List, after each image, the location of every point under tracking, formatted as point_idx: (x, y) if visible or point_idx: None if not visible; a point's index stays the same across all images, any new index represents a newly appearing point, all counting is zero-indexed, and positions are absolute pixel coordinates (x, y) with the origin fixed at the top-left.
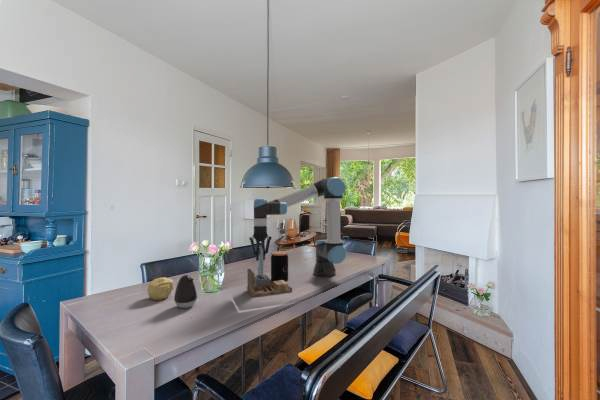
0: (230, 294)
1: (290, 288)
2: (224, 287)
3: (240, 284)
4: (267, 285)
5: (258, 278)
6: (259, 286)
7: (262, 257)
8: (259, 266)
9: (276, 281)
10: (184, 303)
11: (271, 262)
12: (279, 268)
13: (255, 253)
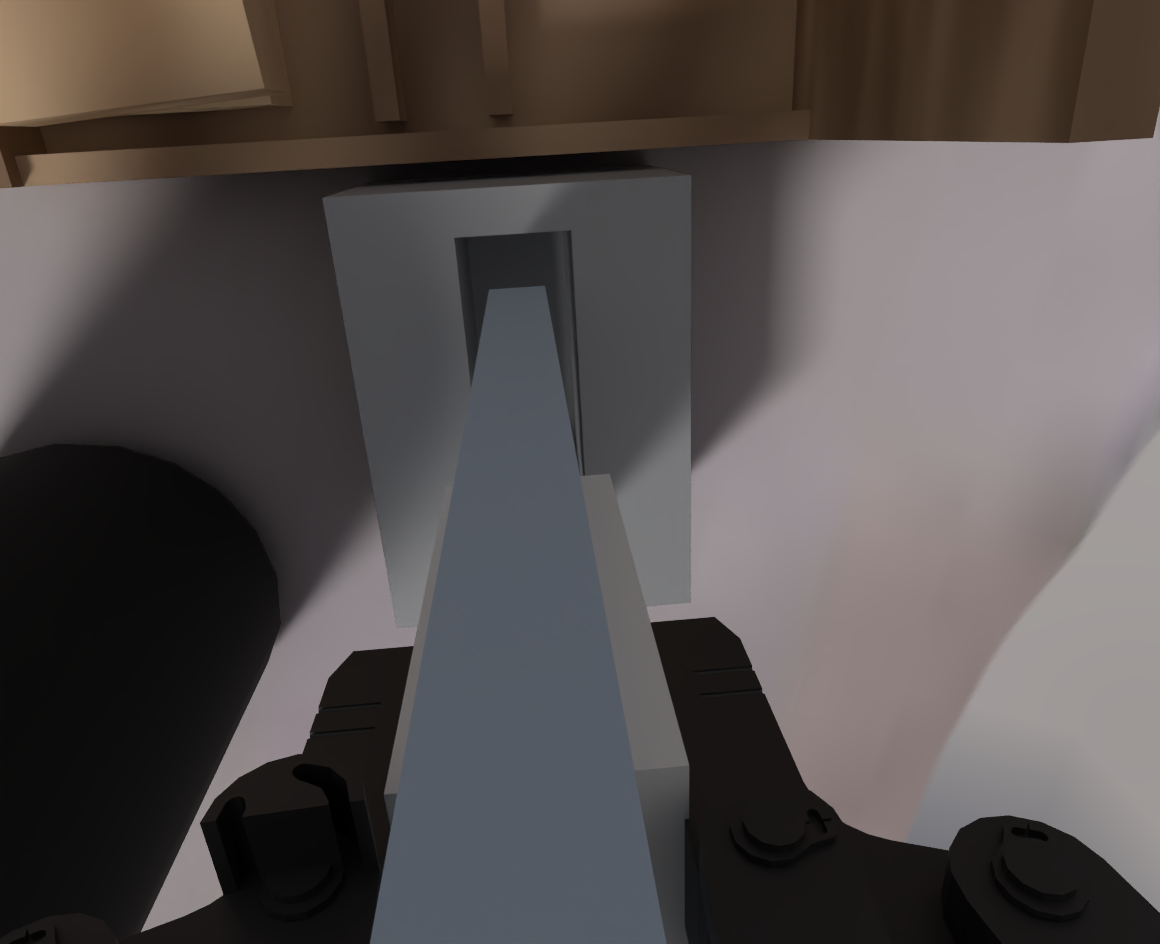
0: None
1: None
2: (1072, 532)
3: (807, 603)
4: (414, 154)
5: (601, 314)
6: (597, 144)
7: (489, 512)
8: (586, 479)
9: (166, 29)
10: None
11: (119, 867)
12: None
13: (977, 874)
